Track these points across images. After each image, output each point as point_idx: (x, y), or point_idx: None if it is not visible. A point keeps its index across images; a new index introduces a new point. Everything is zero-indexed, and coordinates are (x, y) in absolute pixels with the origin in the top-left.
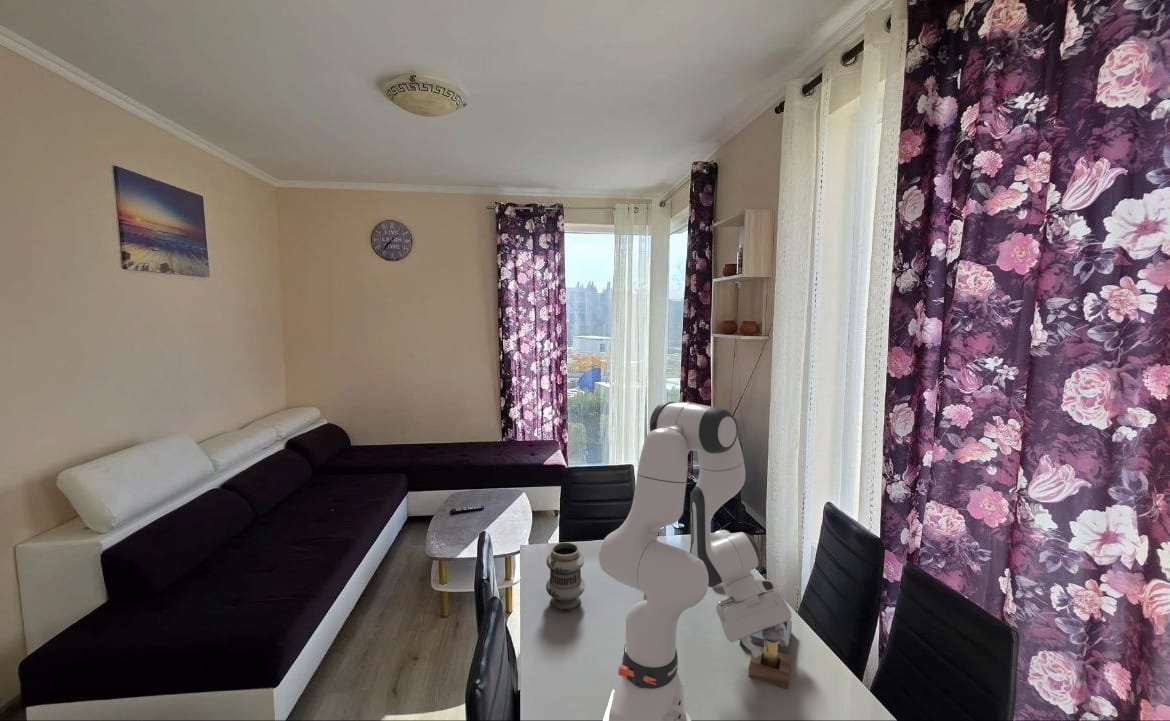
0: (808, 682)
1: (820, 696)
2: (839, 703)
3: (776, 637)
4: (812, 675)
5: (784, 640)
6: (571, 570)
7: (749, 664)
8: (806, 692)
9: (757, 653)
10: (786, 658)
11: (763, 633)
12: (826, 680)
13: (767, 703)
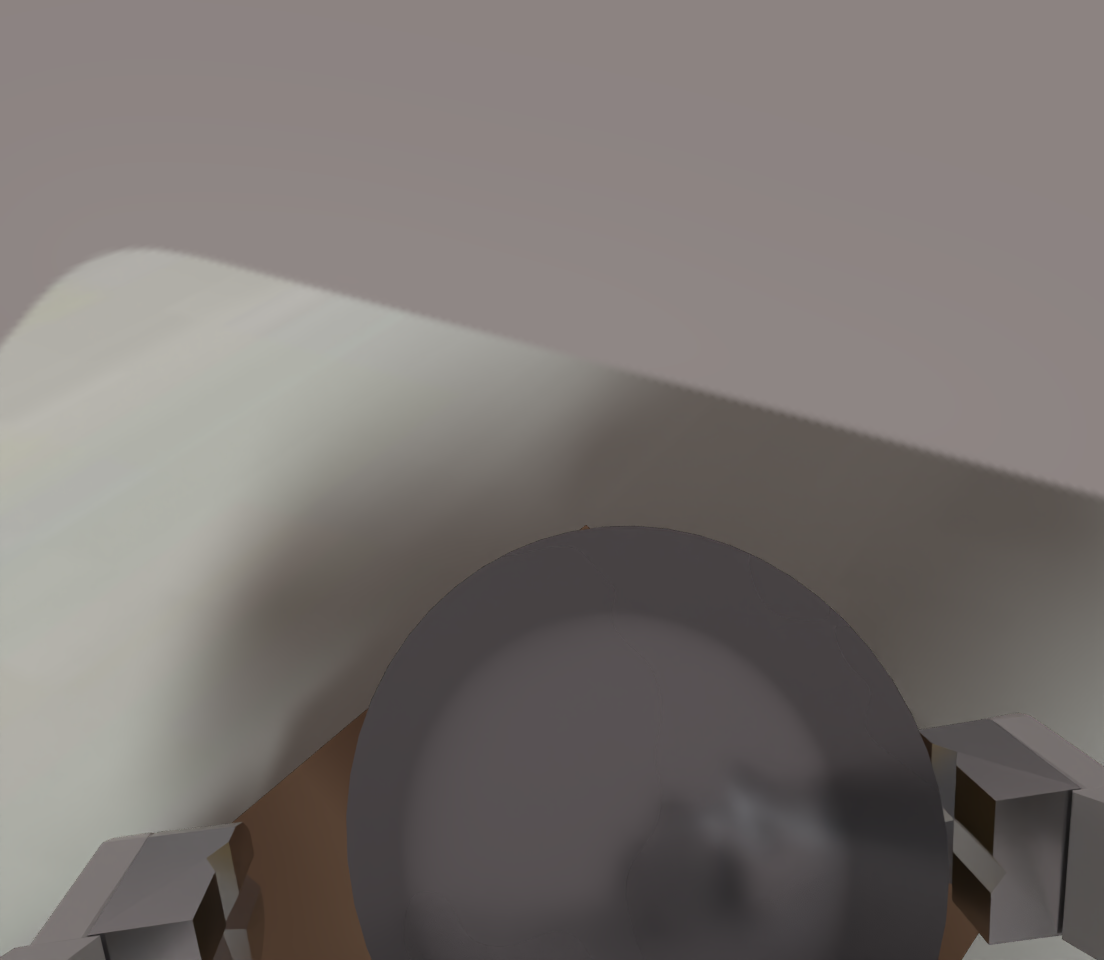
0: (298, 588)
1: (355, 431)
2: (279, 342)
3: (632, 545)
4: (158, 652)
5: (189, 867)
6: None
7: (972, 940)
8: (434, 499)
9: (1031, 726)
10: (296, 851)
11: (943, 836)
12: (101, 550)
13: (888, 513)
